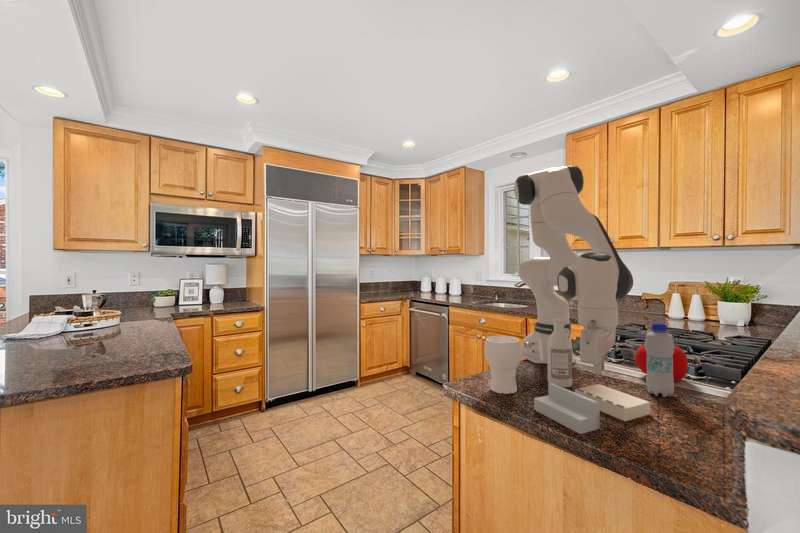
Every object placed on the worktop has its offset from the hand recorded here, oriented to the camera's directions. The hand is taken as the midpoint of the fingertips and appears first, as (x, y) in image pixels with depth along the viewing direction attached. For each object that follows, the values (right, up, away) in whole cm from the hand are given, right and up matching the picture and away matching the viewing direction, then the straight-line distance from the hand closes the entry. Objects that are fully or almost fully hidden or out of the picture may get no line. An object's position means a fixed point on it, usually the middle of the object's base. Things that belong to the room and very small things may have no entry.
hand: (599, 371), depth 90 cm
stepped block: (-11, -10, -4) cm, 15 cm away
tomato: (+32, -9, +22) cm, 39 cm away
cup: (-20, -10, +16) cm, 27 cm away
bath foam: (-1, -10, +19) cm, 21 cm away
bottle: (+22, -9, +9) cm, 25 cm away
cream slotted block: (+4, -10, +2) cm, 10 cm away
